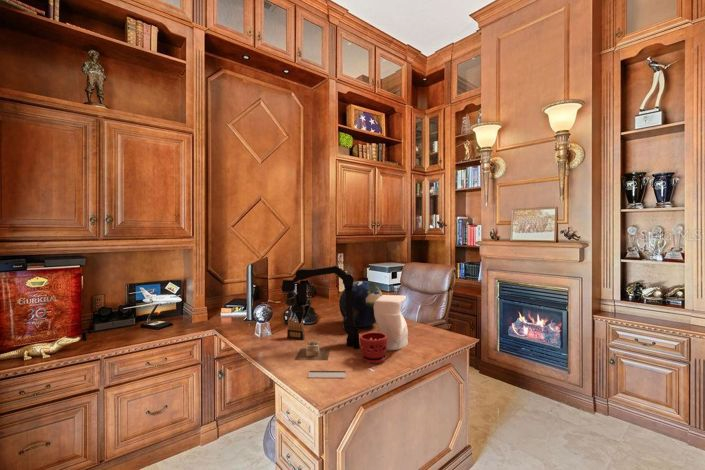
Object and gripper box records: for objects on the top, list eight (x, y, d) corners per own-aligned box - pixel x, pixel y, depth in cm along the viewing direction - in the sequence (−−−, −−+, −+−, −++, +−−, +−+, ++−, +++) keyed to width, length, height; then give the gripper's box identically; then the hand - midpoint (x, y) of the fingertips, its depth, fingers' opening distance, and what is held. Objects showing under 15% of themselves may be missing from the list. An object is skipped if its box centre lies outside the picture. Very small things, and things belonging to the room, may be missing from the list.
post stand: (330, 350, 173) (330, 337, 173) (327, 362, 157) (327, 348, 157) (300, 350, 173) (300, 337, 173) (294, 362, 157) (294, 348, 157)
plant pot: (383, 354, 167) (383, 330, 167) (390, 364, 154) (390, 339, 154) (357, 355, 165) (357, 332, 165) (362, 366, 152) (362, 340, 152)
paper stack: (413, 340, 188) (413, 295, 187) (400, 357, 163) (400, 305, 163) (378, 336, 196) (378, 293, 196) (361, 351, 171) (361, 302, 171)
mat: (346, 364, 154) (346, 364, 154) (345, 378, 140) (345, 377, 140) (312, 364, 154) (312, 363, 154) (307, 378, 140) (307, 377, 140)
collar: (319, 351, 168) (319, 342, 168) (318, 356, 162) (318, 346, 162) (308, 351, 168) (308, 342, 168) (306, 356, 162) (306, 346, 162)
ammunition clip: (287, 337, 193) (287, 317, 193) (288, 337, 195) (288, 316, 195) (303, 340, 190) (302, 319, 189) (304, 339, 191) (304, 318, 191)
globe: (332, 323, 224) (332, 279, 224) (371, 318, 237) (371, 276, 236) (350, 335, 197) (350, 285, 196) (393, 329, 209) (393, 282, 209)
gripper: (292, 288, 187) (292, 316, 188) (281, 295, 169) (281, 325, 169) (311, 289, 186) (311, 316, 186) (302, 295, 168) (303, 326, 168)
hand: (302, 320), depth 177 cm, fingers open, 9 cm apart
